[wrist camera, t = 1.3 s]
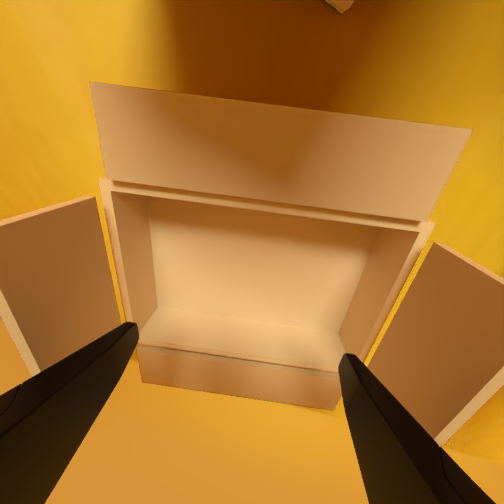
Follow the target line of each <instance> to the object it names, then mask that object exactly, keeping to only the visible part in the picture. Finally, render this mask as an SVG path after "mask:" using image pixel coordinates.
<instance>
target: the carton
mask: <svg viewBox="0 0 504 504" xmlns="http://www.w3.org/2000/svg"><path fill="white" fill-rule="evenodd" d="M89 82H90V81H89ZM90 88H91V94H92V100H93V105H94V111H95V117H96V122H97V128H98V134H99V139H100V145H101V151H102V157H103V162H104V168H105V174H106V177H105V178H99V179H98V180H99V185H100V190H101V195H102V201H103V206H104V211H105V216H106V221H107V227H108V232H109V237H110V242H111V248H112V253H113V258H114V263H115V269H116V274H117V279H118V284H119V289H120V295H121V300H122V305H123V310H124V316H125V321H126V322H135V323H137V325H138V331H139V341H138V344H145V345H152V346H159V347H166V348H173V349H179V350H173V349H166V348H159V347H152V346H145V345H139V346H138V348H137V349H136V351H137V356H138V362H139V367H140V373H141V379H142V382H143V383H150V384H157V385H164V386H171V387H177V388H184V389H191V390H197V391H204V392H211V393H217V394H224V395H231V396H237V397H244V398H251V399H258V400H264V401H271V402H278V403H284V404H291V405H298V406H305V407H311V408H318V409H325V410H332V411H334V409H335V407H336V405H337V403H338V401H339V399H340V397H341V395H342V391H341V384H340V378H339V374H338V373H339V372H338V366H339V363H340V361H341V359H342V356H343V354H344V353H351V354H355V355H356V356H357V357H358V358H359V359H360V360H361V361H362V362H363V363H364V361H365V359H366V357H367V356H368V354H369V352H370V350H371V348H372V346H373V344H374V342H375V340H376V338H377V336H378V334H379V332H380V330H381V328H382V326H383V324H384V323H385V321H386V319H387V317H388V315H389V313H390V311H391V309H392V307H393V305H394V303H395V301H396V299H397V297H398V295H399V293H400V291H401V290H402V288H403V286H404V284H405V282H406V280H407V278H408V276H409V274H410V272H411V270H412V268H413V266H414V264H415V262H416V260H417V258H418V257H419V255H420V253H421V251H422V249H423V247H424V245H425V243H426V241H427V239H428V237H429V235H430V233H431V231H432V229H433V227H434V226H435V224H436V223H434V222H431V221H429V220H428V219H429V217H430V215H431V213H432V211H433V209H434V207H435V205H436V203H437V201H438V199H439V197H440V195H441V193H442V191H443V189H444V187H445V185H446V183H447V181H448V179H449V177H450V175H451V173H452V171H453V169H454V167H455V165H456V163H457V161H458V159H459V157H460V155H461V153H462V151H463V149H464V147H465V145H466V143H467V141H468V139H469V137H470V135H471V133H472V131H473V129H467V128H459V127H451V126H443V125H435V124H427V123H419V122H411V121H403V120H395V119H387V118H379V117H371V116H363V115H355V114H346V113H338V112H330V111H322V110H314V109H306V108H298V107H290V106H282V105H274V104H266V103H258V102H250V101H242V100H234V99H226V98H218V97H210V96H202V95H194V94H186V93H178V92H170V91H162V90H154V89H146V88H138V87H130V86H122V85H114V84H106V83H98V82H90ZM180 350H186V351H193V352H200V353H207V354H214V355H221V356H228V357H235V358H241V359H248V360H255V361H262V362H269V363H276V364H283V365H290V366H296V367H303V368H310V369H317V370H324V371H331V372H338V373H331V372H324V371H317V370H310V369H303V368H296V367H290V366H283V365H276V364H269V363H262V362H255V361H248V360H241V359H235V358H228V357H221V356H214V355H207V354H200V353H193V352H186V351H180Z"/></svg>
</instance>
